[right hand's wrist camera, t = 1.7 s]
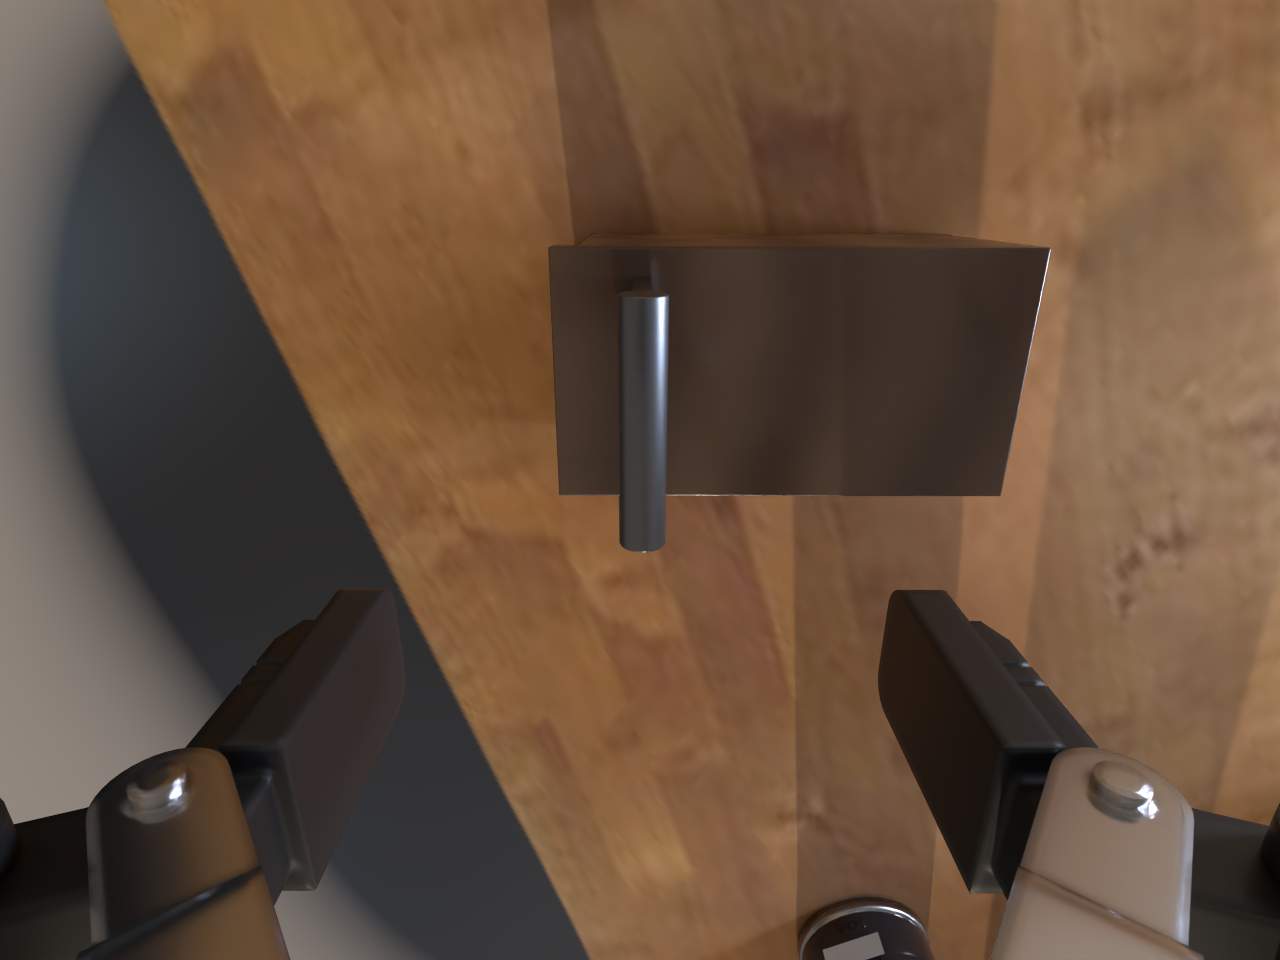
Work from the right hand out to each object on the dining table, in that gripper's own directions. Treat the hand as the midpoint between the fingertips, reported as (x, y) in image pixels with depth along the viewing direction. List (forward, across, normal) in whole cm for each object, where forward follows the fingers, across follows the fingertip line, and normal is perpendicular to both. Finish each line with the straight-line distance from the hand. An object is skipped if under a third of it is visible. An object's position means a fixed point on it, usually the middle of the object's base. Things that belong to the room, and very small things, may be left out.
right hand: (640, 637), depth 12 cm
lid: (+18, -6, 0) cm, 19 cm away
